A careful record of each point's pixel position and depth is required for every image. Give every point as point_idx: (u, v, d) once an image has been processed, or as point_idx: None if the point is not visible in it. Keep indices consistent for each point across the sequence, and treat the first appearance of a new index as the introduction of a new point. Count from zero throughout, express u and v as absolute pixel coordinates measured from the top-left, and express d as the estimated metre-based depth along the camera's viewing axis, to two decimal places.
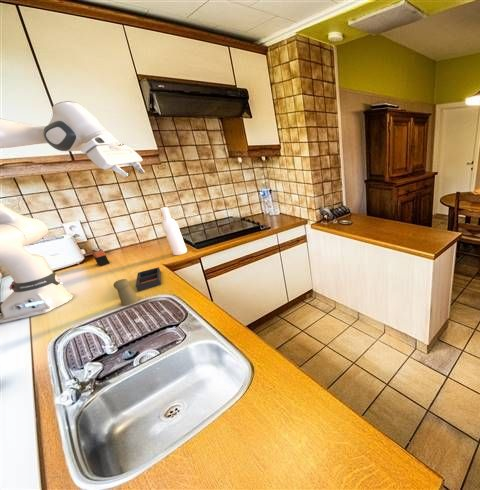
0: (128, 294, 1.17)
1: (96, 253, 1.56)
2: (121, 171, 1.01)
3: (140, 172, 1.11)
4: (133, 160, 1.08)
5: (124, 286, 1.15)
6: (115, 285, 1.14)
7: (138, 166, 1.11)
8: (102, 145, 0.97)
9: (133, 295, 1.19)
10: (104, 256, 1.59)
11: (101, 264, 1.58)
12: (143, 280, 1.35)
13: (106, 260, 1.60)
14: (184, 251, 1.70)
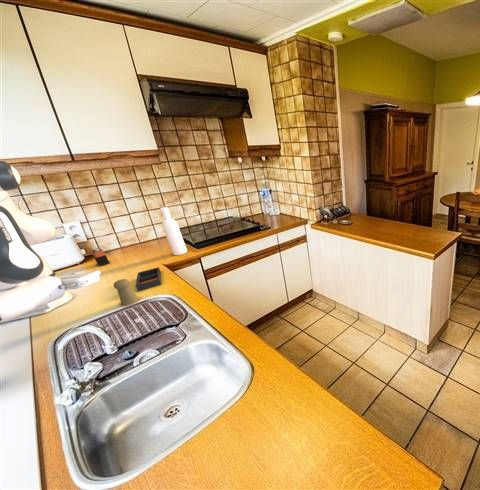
0: (128, 294, 1.17)
1: (96, 253, 1.56)
2: None
3: None
4: None
5: (124, 286, 1.15)
6: (115, 285, 1.14)
7: None
8: None
9: (133, 295, 1.19)
10: (104, 256, 1.59)
11: (101, 264, 1.58)
12: (143, 280, 1.35)
13: (106, 260, 1.60)
14: (184, 251, 1.70)
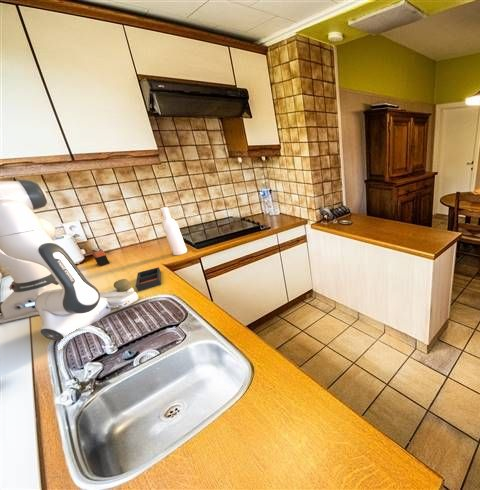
0: None
1: (96, 253, 1.56)
2: None
3: None
4: None
5: (124, 286, 1.15)
6: (115, 285, 1.14)
7: None
8: None
9: None
10: (104, 256, 1.59)
11: (101, 264, 1.58)
12: (143, 280, 1.35)
13: (106, 260, 1.60)
14: (184, 251, 1.70)
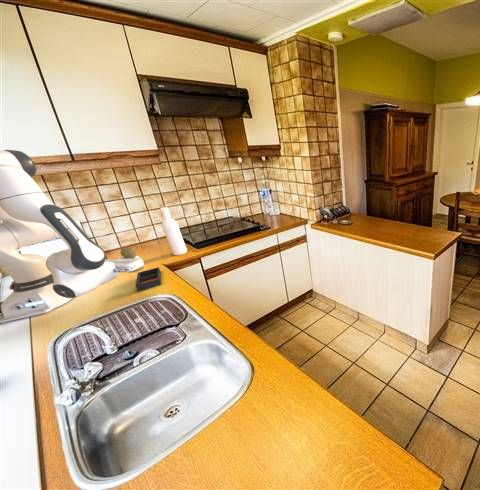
0: None
1: None
2: None
3: None
4: None
5: (130, 254, 1.21)
6: (122, 252, 1.20)
7: None
8: None
9: None
10: None
11: None
12: (143, 280, 1.35)
13: None
14: (184, 251, 1.70)
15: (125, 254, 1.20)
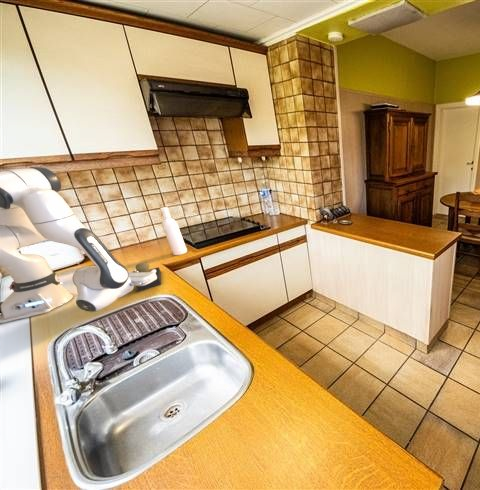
0: None
1: None
2: None
3: None
4: None
5: (144, 269, 1.29)
6: (137, 267, 1.28)
7: None
8: None
9: None
10: None
11: None
12: None
13: None
14: (184, 251, 1.70)
15: (140, 269, 1.28)
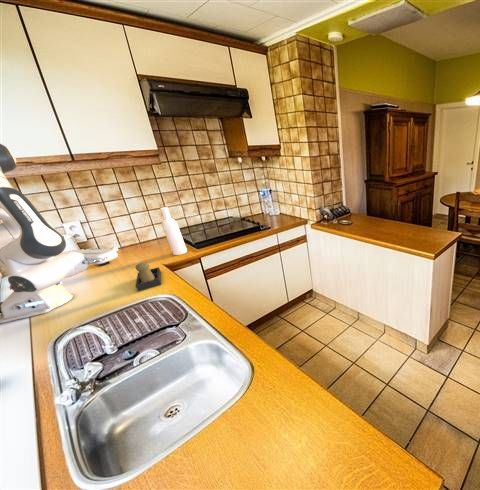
0: (148, 276, 1.31)
1: None
2: None
3: None
4: None
5: (144, 269, 1.29)
6: (137, 267, 1.28)
7: None
8: None
9: (152, 277, 1.33)
10: None
11: (101, 264, 1.58)
12: None
13: None
14: (184, 251, 1.70)
15: (140, 269, 1.28)
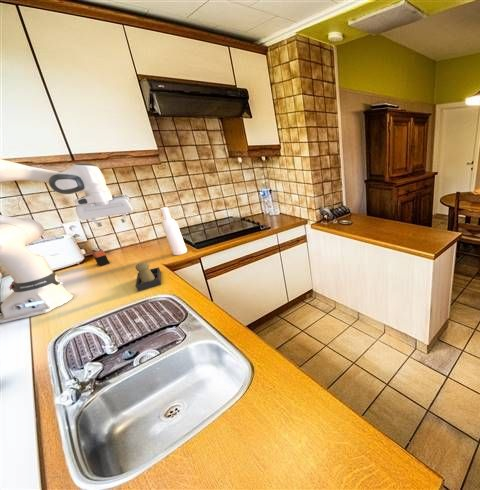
0: (148, 276, 1.31)
1: (96, 253, 1.56)
2: (95, 223, 1.30)
3: (122, 221, 1.36)
4: (116, 213, 1.33)
5: (144, 269, 1.29)
6: (137, 267, 1.28)
7: None
8: (84, 204, 1.25)
9: (152, 277, 1.33)
10: (104, 256, 1.59)
11: (101, 264, 1.58)
12: None
13: (106, 260, 1.60)
14: (184, 251, 1.70)
15: (140, 269, 1.28)
